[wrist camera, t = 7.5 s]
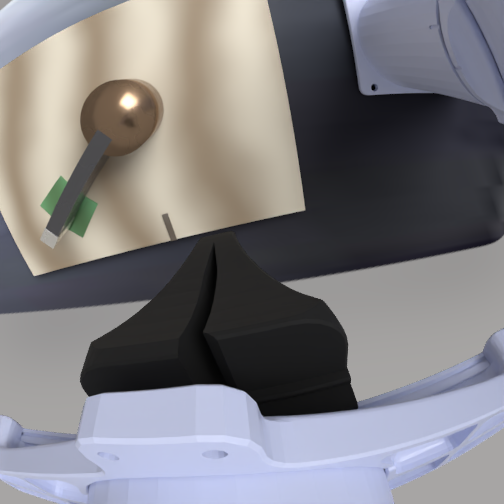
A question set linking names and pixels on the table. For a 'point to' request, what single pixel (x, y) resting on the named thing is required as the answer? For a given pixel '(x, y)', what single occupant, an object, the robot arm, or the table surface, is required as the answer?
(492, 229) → the table surface
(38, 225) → the board
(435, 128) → the table surface
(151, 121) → the bronze ball with handle
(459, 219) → the table surface
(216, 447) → the robot arm
